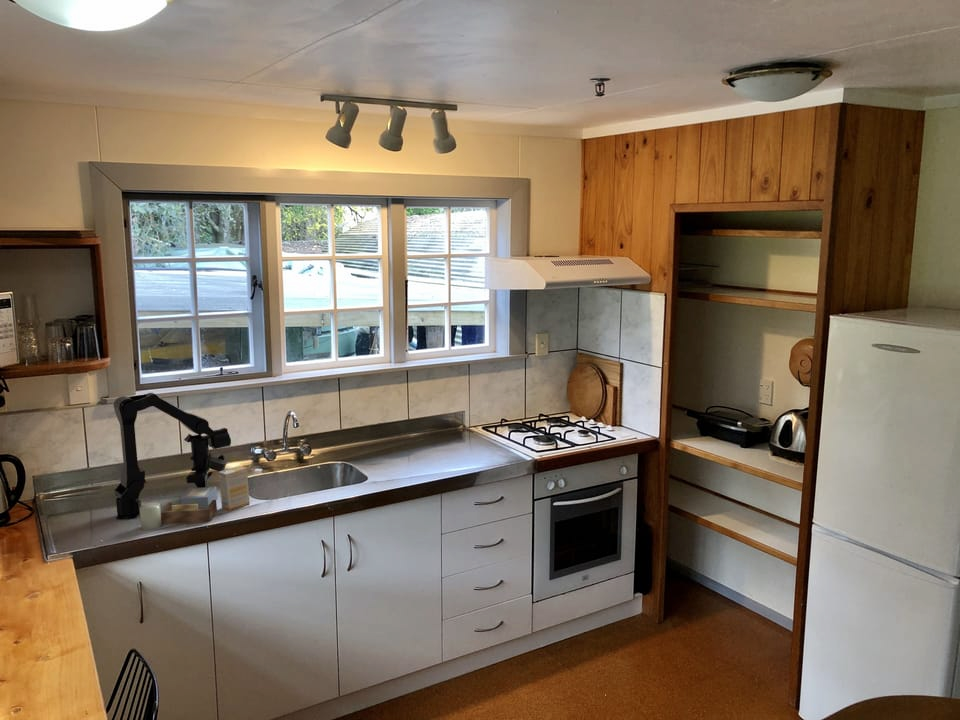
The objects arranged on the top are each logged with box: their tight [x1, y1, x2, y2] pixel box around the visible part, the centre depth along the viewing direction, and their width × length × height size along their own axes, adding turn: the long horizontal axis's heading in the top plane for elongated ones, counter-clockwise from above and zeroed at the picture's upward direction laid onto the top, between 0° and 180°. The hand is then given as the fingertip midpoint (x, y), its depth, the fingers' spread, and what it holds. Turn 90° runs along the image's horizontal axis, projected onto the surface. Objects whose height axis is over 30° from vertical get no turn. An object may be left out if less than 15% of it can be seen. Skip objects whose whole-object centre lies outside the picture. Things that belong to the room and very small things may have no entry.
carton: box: [179, 486, 218, 509], centre depth 261 cm, size 9×11×5 cm
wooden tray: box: [161, 500, 218, 525], centre depth 249 cm, size 15×10×6 cm, turn 97°
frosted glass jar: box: [139, 502, 163, 531], centre depth 242 cm, size 6×6×7 cm
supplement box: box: [218, 465, 251, 511], centre depth 259 cm, size 8×5×13 cm, turn 141°
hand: (203, 494), depth 269 cm, fingers closed
